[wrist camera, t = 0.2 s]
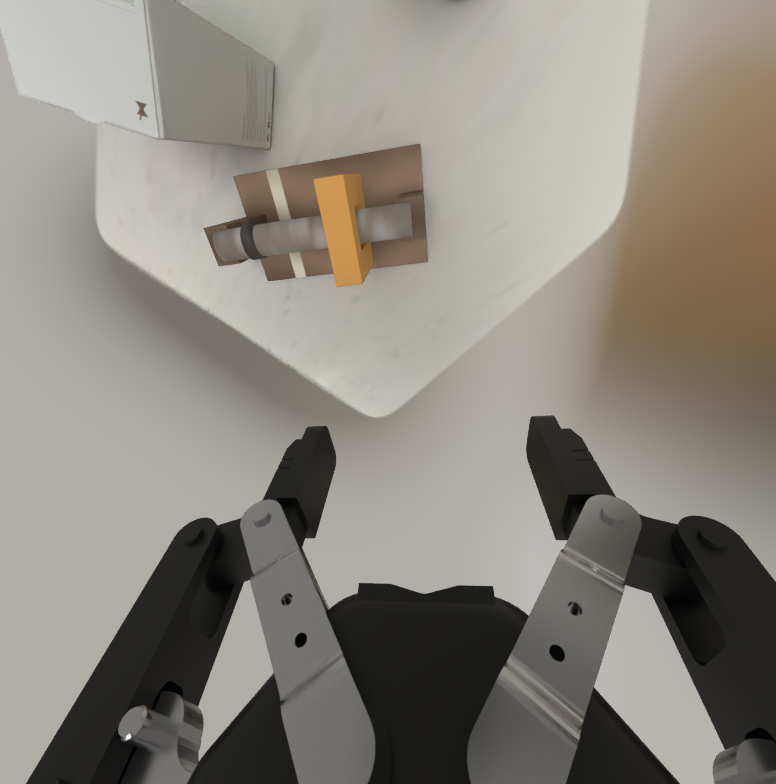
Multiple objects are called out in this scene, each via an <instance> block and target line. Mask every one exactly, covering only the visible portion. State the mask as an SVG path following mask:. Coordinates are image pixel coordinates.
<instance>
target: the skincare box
mask: <svg viewBox="0 0 776 784" xmlns="http://www.w3.org/2000/svg"><path fill="white" fill-rule="evenodd" d="M0 31H1V35H2V38H3V42H4V45H5V49H6V52H7V55H8V59H9V62H10V65H11V69H12V72H13V76H14V80H15V83H16V87H17V90H18V93H19V95H20V96H22V97H25V98H28V99H32V100H35V101H38V102H40V103H43V104H46V105H49V106H52V107H55V108H58V109H61V110H64V111H68V112H71V113H73V114H76V115H78V116H80V117H81V118H83V119H85V120H86V121H88V122H91V123H95V124H102V123H106V124H109V125H112V126H115V127H118V128H122V129H125V130H128V131H131V132H134V133H138V134H141V135H144V136H148V137H151V138H154V139H162V140H174V141H185V142H196V143H207V144H218V145H228V146H239V147H250V148H260V149H267V150H269V149H270V144H271V122H272V100H273V75H274V64H273V62H272V61H270V60H268V59H267V58H265V57H264V56H262V55H260V54H259V53H257V52H256V51H254V50H252V49H251V48H249V47H248V46H246V45H244V44H243V43H241V42H240V41H238V40H237V39H235V38H233V37H232V36H230V35H229V34H227V33H226V32H224V31H222V30H221V29H220V28H218V27H216V26H215V25H213V24H212V23H210V22H209V21H207V20H205V19H204V18H202V17H201V16H199V15H197V14H196V13H194V12H193V11H191V10H190V9H188V8H187V7H185V6H183V5H182V4H180V3H179V2H177V1H175V0H0Z"/></svg>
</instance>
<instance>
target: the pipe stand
mask: <svg viewBox="0 0 776 784" xmlns="http://www.w3.org/2000/svg"><path fill="white" fill-rule="evenodd" d="M342 174H360V177H361V183H362V190H363V196H364V203H365V209H358V210H355V215H356V221H357V227H358V233H359V239H360V244H361V243H369V242H371V249H372V256H373V262H374V263H373V265H372V267H371V268H370V269H372V268H381V267H389V266H397V265H405V264H414V263H422V262H428V257H427V242H426V227H425V212H424V196H423V181H422V166H421V151H420V144H416V145H410V146H404V147H399V148H393V149H387V150H382V151H376V152H370V153H364V154H359V155H353V156H347V157H342V158H336V159H330V160H324V161H319V162H313V163H307V164H302V165H296V166H290V167H284V168H279V169H272V170H267V171H262V172H256V173H250V174H245V175H239V176H233V177H234V180H235V183H236V186H237V189H238V192H239V195H240V198H241V201H242V204H243V207H244V210H245V213H246V216H247V217H245V218H241V219H237V220H234V221H230V222H226V223H222V224H218V225H215V226H211V227H207V228H204V230H205V233H206V235H207V238H208V240H209V243H210V245H211V248H212V250H213V253H214V255H215V258H216V260H217V263H218V265H219V266H224V265H232V264H239V263H242V262H244V261H246V260H248V259H250V258H251V259H252V260H257V259H261V262H262V265H263V268H264V271H265V274H266V277H267V280H268V281H274V280H282V279H290V278H301V277H307V276H315V275H323V274H331V273H334V272H333V267H332V263H331V258H330V254H329V249H328V245H327V240H326V235H325V231H324V226H323V222H322V217H321V213H320V208H319V204H318V199H317V194H316V190H315V185H314V181H313V179H318V178H324V177H330V176H336V175H342Z"/></svg>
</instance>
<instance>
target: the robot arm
mask: <svg viewBox="0 0 776 784" xmlns="http://www.w3.org/2000/svg"><path fill="white" fill-rule="evenodd" d="M526 451H527V458H528V463H529V465H530V468H531V471H532V474H533V477H534V480H535V482H536V485H537V488H538V491H539V494H540V496H541V499H542V502H543V505H544V507H545V510H546V513H547V516H548V519H549V522H550V525H551V527H552V530H553V533H554V536H555V539H556V540H567V543H566V545H565V547H564V549H563V550H561V551H560V553H559V555H558V557H557V559H556V561H555V564H554V566H553V567H552V570H551V572H550V574H549V576H548V578H547V580H546V582H545V584H544V586H543V588H542V590H541V592H540V594H539V596H538V599H537V601H536V603H535V605H534V607H533V609H532V611H531V613H530V615H529V616H528V615H527V614H526V613H525V612H523V611H522V610H520V609H519V608H518V607H516V606H514V605H513V604H511V603H509V602H507V601H505V600H502V599H500V598H496V597H495V596H494V591H493V586H455V587H451V588H447V589H443V590H439V591H435V592H432V593H428V594H421V593H418V592H415V591H411V590H408V589H405V588H402V587H399V586H396V585H392V584H373V583H359V588H358V594H354V595H352V596H349V597H347V598H345V599H343V600H341V601H339V602H338V603H337V604H335V605H334V606H333V607H331V608H330V609H329V607H328V605H327V603H326V600H325V598H324V596H323V594H322V592H321V590H320V587H319V585H318V583H317V581H316V578H315V576H314V574H313V571H312V569H311V567H310V565H309V562H308V560H307V558H306V556H305V554H304V551H303V549H302V546H303V542H304V540H305V538H315V536H316V533H317V529H318V526H319V523H320V519H321V516H322V512H323V508H324V505H325V502H326V498H327V495H328V491H329V487H330V484H331V480H332V476H333V474H334V470H335V466H336V453H335V449H334V446H333V443H332V440H331V437H330V433H329V430H328V428H327V426H313V427H307V429H306V431H305V433H304V435H303V438H302V439H298V440H295V441H294V442H293V443H292V444H291V445H290V446H289V447H288V448H287V450H286V452H285V454H284V456H283V458H282V461H281V462H280V465H279V467H278V469H277V471H276V473H275V475H274V477H273V479H272V481H271V484H270V486H269V488H268V490H267V492H266V494H265V496H264V499H263V500H262V501H260V502H258V503H256V504H254V505H253V506H251V507H250V508H249V509H248V510H247V511H246V512H245V513H244V515H243V516H242V518H240V519H237V520H234V521H231V522H228V523H224V524H221V525H217V524H216V523H215V522H214V521H213V520H212V519H210V518H200V519H197V520H194V521H192V522H190V523H189V524H187V525H186V526H184V527H183V528H182V529H181V530H180V531H179V532H178V533H177V534H176V536H175V537H174V539H173V541H172V542H171V544H170V546H169V548H168V549H167V551H166V552H165V554H164V556H163V557H162V559H161V561H160V562H159V564H158V566H157V567H156V569H155V571H154V572H153V574H152V576H151V577H150V579H149V580H148V582H147V584H146V586H145V587H144V589H143V590H142V592H141V594H140V596H139V597H138V599H137V600H136V602H135V604H134V605H133V607H132V609H131V610H130V612H129V614H128V615H127V617H126V619H125V620H124V622H123V624H122V625H121V627H120V629H119V630H118V632H117V634H116V635H115V637H114V639H113V640H112V642H111V644H110V645H109V647H108V649H107V650H106V652H105V653H104V655H103V657H102V658H101V660H100V662H99V663H98V665H97V667H96V668H95V670H94V672H93V674H92V675H91V677H90V678H89V680H88V682H87V683H86V685H85V687H84V688H83V690H82V692H81V693H80V695H79V697H78V698H77V700H76V702H75V703H74V705H73V707H72V708H71V710H70V712H69V713H68V715H67V717H66V718H65V720H64V721H63V724H62V725H61V727H60V728H59V730H58V731H57V733H56V735H55V736H54V738H53V740H52V741H51V743H50V745H49V746H48V748H47V750H46V751H45V753H44V755H43V756H42V758H41V760H40V762H39V763H38V765H37V767H36V768H35V770H34V771H33V773H32V775H31V776H30V778H29V780H28V781H27V783H26V784H680V783H679V782H678V781H677V780H676V779H675V778H674V777H673V775H671V773H670V772H669V771H668V770H667V769H666V768H665V767H664V765H663V764H662V763H661V762H660V761H659V760H658V759H657V758H656V756H655V755H654V754H653V753H652V752H651V751H650V750H649V749H648V747H647V746H646V745H645V744H644V743H643V742H642V741H641V740H640V738H639V737H638V736H637V735H636V734H635V733H634V732H633V731H632V730H631V728H630V727H629V726H628V725H627V724H626V723H625V722H624V720H623V719H622V718H621V717H620V716H619V715H618V714H617V713H616V712H615V711H614V709H613V708H612V707H611V706H610V705H609V704H608V703H607V702H606V700H605V699H604V698H603V697H602V696H601V695H600V694H599V692H598V691H596V689H595V688H594V684H595V682H596V678H597V675H598V672H599V669H600V666H601V662H602V659H603V656H604V653H605V649H606V646H607V643H608V640H609V636H610V634H611V630H612V627H613V624H614V621H615V618H616V614H617V611H618V608H619V605H620V602H621V598H622V595H623V592H624V587H625V585H628V586H631V587H634V588H637V589H640V590H643V591H646V592H649V593H652V596H653V598H654V600H655V602H656V604H657V606H658V608H659V611H660V613H661V615H662V617H663V619H664V621H665V623H666V625H667V627H668V630H669V632H670V634H671V636H672V638H673V640H674V642H675V644H676V647H677V649H678V651H679V653H680V655H681V657H682V659H683V661H684V664H685V666H686V668H687V670H688V672H689V674H690V676H691V678H692V681H693V683H694V685H695V687H696V689H697V691H698V693H699V695H700V697H701V699H702V702H703V704H704V706H705V708H706V710H707V712H708V714H709V717H710V719H711V721H712V723H713V725H714V727H715V729H716V731H717V734H718V736H719V738H720V740H721V742H722V744H723V746H724V748H725V750H724V751H722V752H720V753H719V754H718V755H717V756H716V758H715V760H714V763H713V777H714V782H715V784H776V582H775V581H774V579H773V578H772V577H771V575H770V574H769V573H768V572H767V570H766V569H765V568H764V566H763V565H762V564H761V563H760V561H759V560H758V559H757V557H756V556H755V555H754V554H753V553H752V551H751V550H750V549H749V547H748V546H747V545H746V543H745V542H744V541H743V540H742V539H741V537H740V536H739V535H738V534H737V533H735V532H734V531H733V530H732V529H730V528H729V527H727V526H726V525H724V524H722V523H720V522H718V521H715V520H713V519H710V518H707V517H702V516H688V517H685V518H683V519H681V520H680V522H679V523H678V525H677V524H673V523H669V522H665V521H660V520H656V519H652V518H648V517H645V516H642V515H640V514H638V513H637V511H636V510H635V509H634V508H633V507H632V506H631V505H629V504H628V503H627V502H625V501H623V500H621V499H619V498H617V497H616V496H615V494H614V493H613V491H612V489H611V488H610V486H609V484H608V483H607V481H606V479H605V477H604V475H603V474H602V472H601V470H600V469H599V467H598V465H597V463H596V462H595V461H594V459H593V457H592V455H591V453H590V452H589V451H588V448H587V446H586V445H585V443H584V441H583V439H582V438H581V437H580V436H579V435H577V434H576V433H575V432H574V431H572V430H571V429H561V428H560V426H559V424H558V422H557V420H556V418H555V417H554V416H552V415H551V416H532V417H531V419H530V424H529V431H528V438H527V446H526ZM248 580H250V581H251V586H252V590H253V594H254V598H255V601H256V605H257V609H258V613H259V617H260V621H261V624H262V629H263V632H264V636H265V640H266V644H267V648H268V651H269V655H270V659H271V663H272V667H273V671H274V673H273V675H272V676H271V677H270V678H269V679H268V680H267V682H266V683H265V684H264V685H263V686H262V687H261V689H260V690H259V691H258V692H257V693H256V694H255V696H254V697H253V698H252V699H251V700H250V701H249V703H248V704H247V705H246V706H245V707H244V709H243V710H242V711H241V712H240V713H239V715H237V717H236V718H235V719H234V720H233V721H232V722H231V724H230V725H229V726H228V727H227V728H226V729H225V731H224V732H223V733H222V734H221V735H220V736H219V738H218V739H217V740H216V741H215V742H214V743H213V745H212V746H211V747H210V748H209V750H208V751H207V752H206V753H205V755H204V756H203V757H202V758H201V760H200V761H199V760H198V752H199V749H200V745H201V737H202V733H203V715H202V712H201V710H200V709H199V707H198V705H199V702H200V699H201V697H202V694H203V691H204V688H205V686H206V683H207V680H208V678H209V675H210V672H211V669H212V667H213V664H214V662H215V659H216V656H217V653H218V651H219V648H220V645H221V643H222V640H223V637H224V635H225V632H226V629H227V626H228V624H229V621H230V618H231V616H232V613H233V610H234V608H235V605H236V602H237V599H238V597H239V594H240V591H241V589H242V586H243V583H244V582H245V581H248Z"/></svg>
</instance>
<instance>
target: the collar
mask: <svg viewBox="0 0 776 784" xmlns="http://www.w3.org/2000/svg"><path fill="white" fill-rule="evenodd" d="M313 181H314V185H315V190H316V194H317V199H318V204H319V208H320V213H321V217H322V222H323V226H324V231H325V235H326V240H327V245H328V249H329V254H330V258H331V263H332V267H333V272H334V276H335V281H336V286H337V287H341V286H349V285H358V284H362V283H363V282H364V280H365V278H366V276H367V274H368V272H369V270H370V268H371V267H372V265H373V263H374V262H373V256H372V249H371V242H369V243H361V244H360V239H359V233H358V227H357V221H356V215H355V210H358V209H365V203H364V196H363V190H362V183H361V177H360V174H342V175H336V176H330V177H324V178H318V179H313Z"/></svg>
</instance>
